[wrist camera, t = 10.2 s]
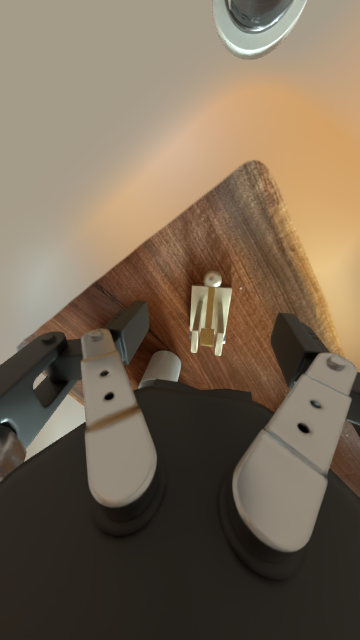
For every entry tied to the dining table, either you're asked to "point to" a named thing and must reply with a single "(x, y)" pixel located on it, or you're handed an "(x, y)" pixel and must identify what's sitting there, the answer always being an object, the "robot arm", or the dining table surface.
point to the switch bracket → (218, 318)
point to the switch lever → (210, 307)
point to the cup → (161, 368)
